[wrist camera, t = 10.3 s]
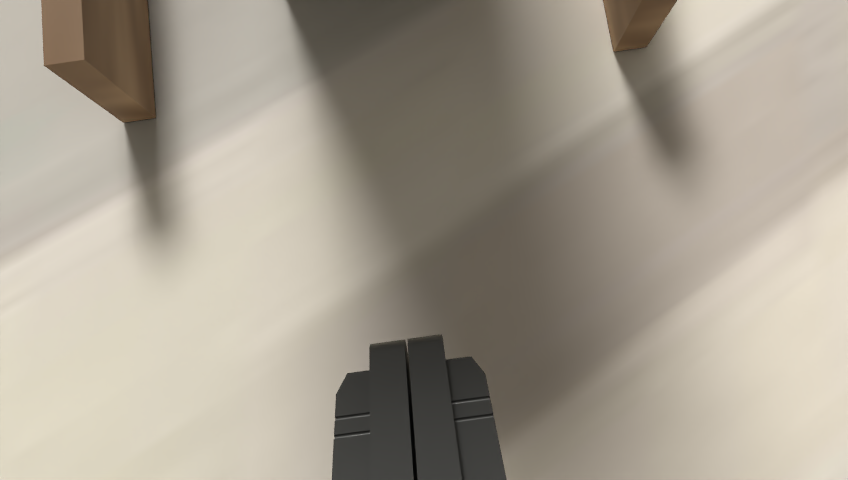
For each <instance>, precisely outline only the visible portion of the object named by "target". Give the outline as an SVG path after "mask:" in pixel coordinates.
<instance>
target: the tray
mask: <svg viewBox="0 0 848 480" xmlns="http://www.w3.org/2000/svg"><path fill="white" fill-rule="evenodd" d="M676 1H677V0H603V2H604V7H605V12H606V16H607V21H608V26H609V31H610V36H611V41H612V46H613V51H614V52H615V51H622V50H629V49H636V48H643V47H647V46H648V44H649V42H650V41H651V39H652V38H653V36H654V35H655V33H656V32H657V30H658V29H659V27H660V26H661V24H662V23H663V21H664V20H665V18H666V16H667V15H668V13H669V12H670V10H671V9H672V7H673V6H674V4H675V3H676ZM41 3H42V28H43V53H44V66H45V67H47V68H48V69H50V70H51V71H52V72H54V73H55V74H56V75H58V76H59V77H61V78H62V79H63V80H65V81H66V82H68V83H69V84H70V85H72V86H73V87H75V88H76V89H77V90H79V91H80V92H81V93H83V94H84V95H86V96H87V97H88V98H90V99H91V100H93V101H94V102H95V103H97V104H98V105H100V106H101V107H102V108H104V109H105V110H106V111H108V112H109V113H111V114H112V115H113V116H115V117H116V118H118V119H119V120H120V121H122V122H123V123H124V122H131V121H138V120H145V119H152V118H156V114H155V99H154V85H153V71H152V57H151V43H150V29H149V14H148V0H41Z"/></svg>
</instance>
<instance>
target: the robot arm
mask: <svg viewBox="0 0 848 480" xmlns="http://www.w3.org/2000/svg"><path fill="white" fill-rule="evenodd" d="M408 355H409V357H408ZM334 437H335V439H334V448H333V468H332V480H506V475H505V470H504V465H503V460H502V455H501V450H500V445H499V440H498V435H497V430H496V426H495V421H494V417H493V411H492V406H491V401H490V396H489V391H488V386H487V381H486V376H485V373H484V372H483V371H482V370H481V368H480V367H479V366H478V365H477V363H476V362H475V361H474V360H473V358H472V357H464V358H457V359H449V360H446V359H445V352H444V345H443V338H442V335H434V336H427V337H420V338H412V339H408V352H407V346H406V342H405V340H399V341H391V342H384V343H376V344H370V370H369V371H362V372H354V373H347V375H346V377H345V379H344V381H343V383H342V384H341V386H340V388H339V390H338V392H337V394H336V408H335V428H334Z"/></svg>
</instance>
